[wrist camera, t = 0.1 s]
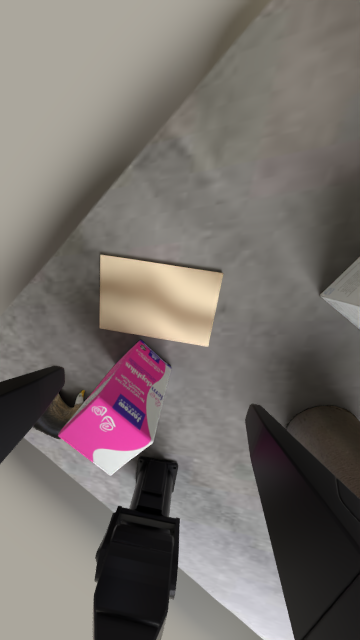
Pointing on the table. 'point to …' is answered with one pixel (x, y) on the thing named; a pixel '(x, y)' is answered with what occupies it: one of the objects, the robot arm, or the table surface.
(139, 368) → the supplement box
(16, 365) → the table surface
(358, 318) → the light bulb box
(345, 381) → the table surface
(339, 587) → the robot arm
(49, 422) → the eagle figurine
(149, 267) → the pale gold metal plate
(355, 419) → the pillar candle
